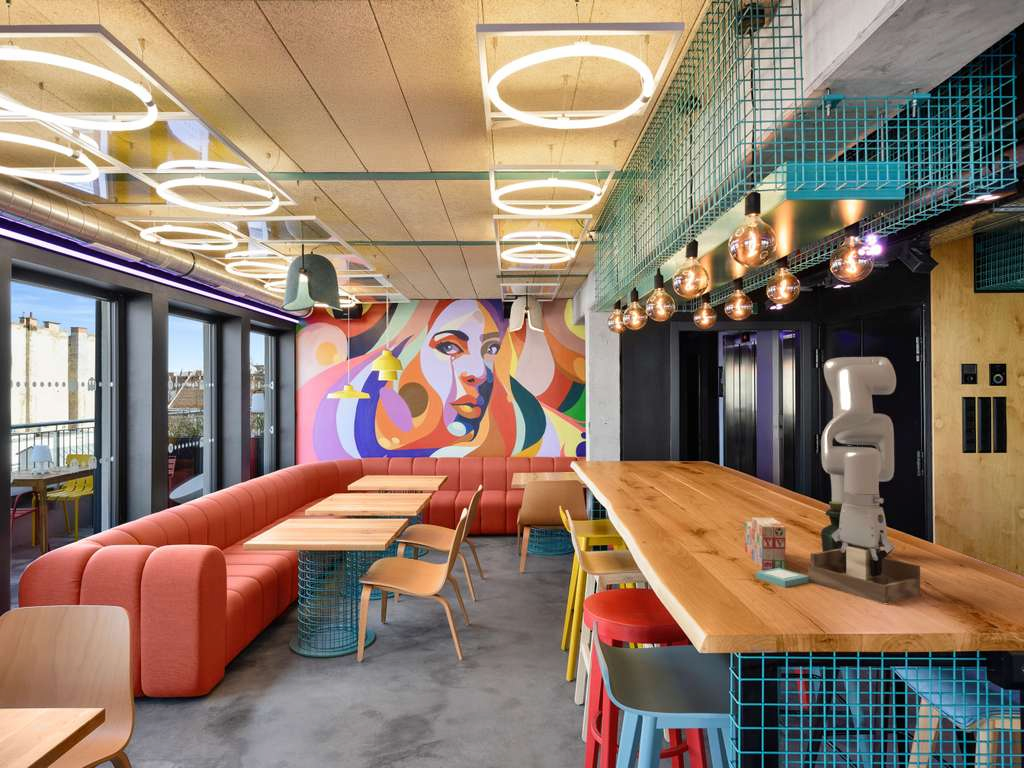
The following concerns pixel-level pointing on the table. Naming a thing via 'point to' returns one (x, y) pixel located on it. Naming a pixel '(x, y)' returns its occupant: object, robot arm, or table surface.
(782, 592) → the table surface
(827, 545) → the potion bottle
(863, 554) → the beech block
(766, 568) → the stack of blocks
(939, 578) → the table surface
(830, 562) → the brown wooden tray
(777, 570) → the teal picture frame
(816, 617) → the table surface
